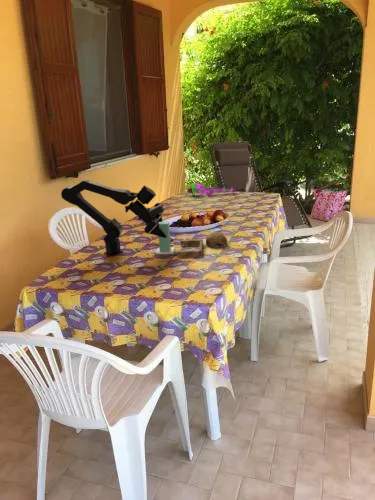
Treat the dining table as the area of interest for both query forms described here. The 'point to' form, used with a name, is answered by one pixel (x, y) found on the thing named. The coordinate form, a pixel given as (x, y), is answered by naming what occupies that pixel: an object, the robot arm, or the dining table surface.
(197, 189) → the purple flower spray
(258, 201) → the dining table surface
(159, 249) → the white tile
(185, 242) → the walnut frame
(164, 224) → the teal block
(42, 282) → the dining table surface
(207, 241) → the bread roll
